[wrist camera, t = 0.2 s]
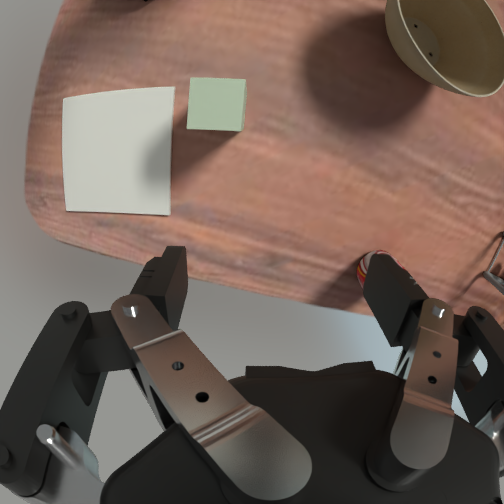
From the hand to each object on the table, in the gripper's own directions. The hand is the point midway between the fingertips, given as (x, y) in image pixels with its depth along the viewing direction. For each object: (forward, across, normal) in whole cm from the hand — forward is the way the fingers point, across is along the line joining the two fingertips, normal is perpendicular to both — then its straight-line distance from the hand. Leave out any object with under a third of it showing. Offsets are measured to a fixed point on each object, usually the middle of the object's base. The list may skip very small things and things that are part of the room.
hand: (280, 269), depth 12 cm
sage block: (+29, +4, -7) cm, 30 cm away
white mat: (+29, +20, -1) cm, 35 cm away
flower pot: (+29, -22, -22) cm, 43 cm away
